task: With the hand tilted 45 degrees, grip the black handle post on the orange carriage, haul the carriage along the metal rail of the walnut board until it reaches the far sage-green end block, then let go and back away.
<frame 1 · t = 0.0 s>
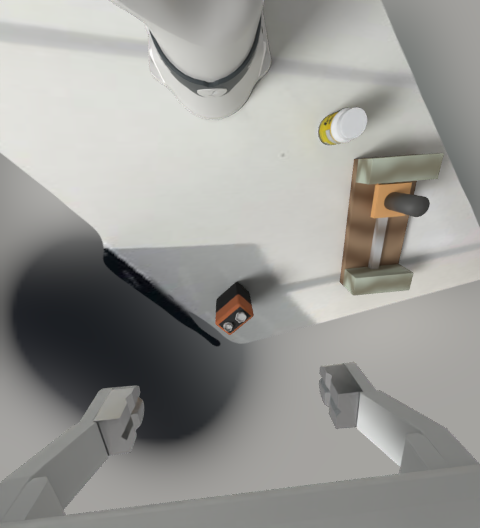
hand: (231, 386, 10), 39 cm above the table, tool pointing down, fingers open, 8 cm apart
supplement bottle: (329, 130, 42), on the table
rail board: (374, 224, 49), on the table
carriage: (400, 202, 41), point 6 cm above the table, slide at 0.0 cm
battery: (232, 295, 54), on the table
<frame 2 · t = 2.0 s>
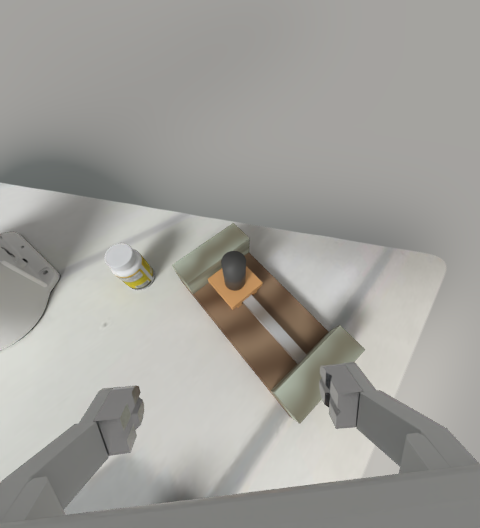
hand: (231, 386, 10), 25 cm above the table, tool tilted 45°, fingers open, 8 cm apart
supplement bottle: (141, 278, 41), on the table
rail board: (257, 314, 38), on the table
carriage: (234, 275, 34), point 6 cm above the table, slide at 0.0 cm
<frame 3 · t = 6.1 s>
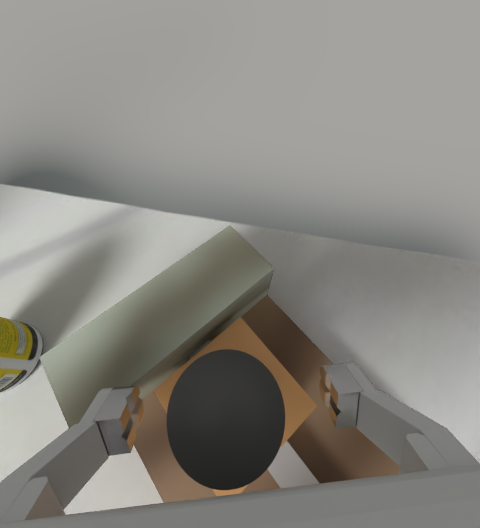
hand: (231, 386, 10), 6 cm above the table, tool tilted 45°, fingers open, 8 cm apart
supplement bottle: (13, 357, 17), on the table
rail board: (295, 475, 14), on the table
carriage: (232, 400, 10), point 6 cm above the table, slide at 0.0 cm
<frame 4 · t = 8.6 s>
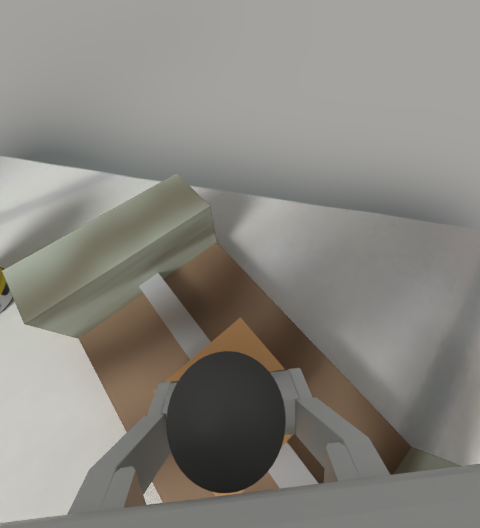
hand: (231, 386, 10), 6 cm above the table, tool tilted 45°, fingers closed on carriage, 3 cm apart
rail board: (229, 387, 16), on the table
carriage: (232, 402, 10), point 6 cm above the table, slide at 6.1 cm, touching gripper
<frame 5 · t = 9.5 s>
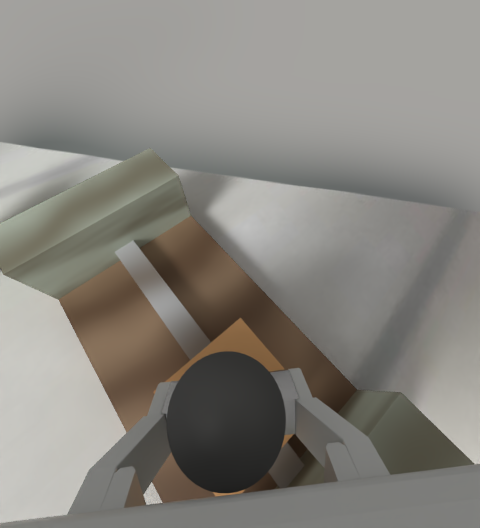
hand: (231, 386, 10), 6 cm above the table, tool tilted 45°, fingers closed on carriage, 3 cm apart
rail board: (198, 343, 17), on the table
carriage: (232, 402, 10), point 6 cm above the table, slide at 9.9 cm, touching gripper
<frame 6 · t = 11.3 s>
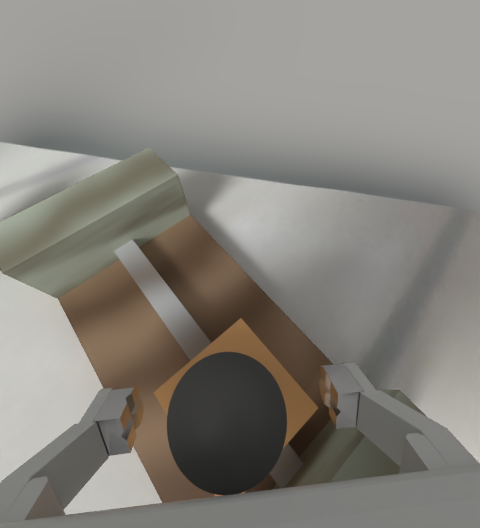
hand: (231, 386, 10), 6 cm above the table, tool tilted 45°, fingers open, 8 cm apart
rail board: (197, 342, 17), on the table
carriage: (233, 403, 10), point 6 cm above the table, slide at 10.0 cm
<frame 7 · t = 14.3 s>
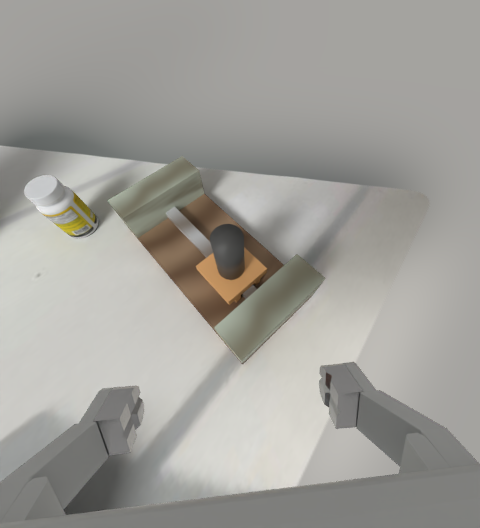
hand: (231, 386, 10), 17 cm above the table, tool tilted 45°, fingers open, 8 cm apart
supplement bottle: (84, 227, 36), on the table
rail board: (212, 258, 33), on the table
carriage: (230, 259, 26), point 6 cm above the table, slide at 10.0 cm
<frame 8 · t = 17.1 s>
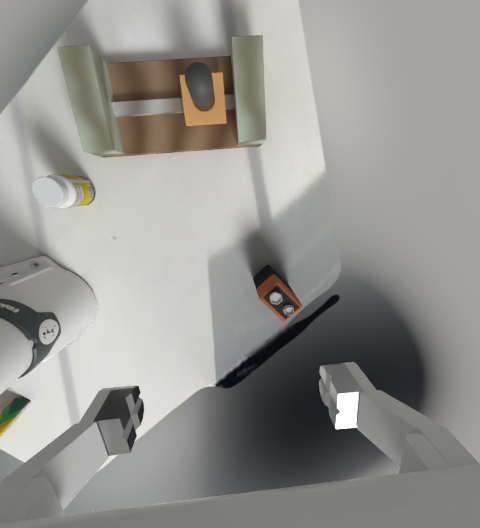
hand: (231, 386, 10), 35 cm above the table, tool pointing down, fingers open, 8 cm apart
supplement bottle: (83, 191, 40), on the table
crayon box: (18, 406, 53), on the table
rail board: (177, 110, 37), on the table
carriage: (202, 93, 31), point 6 cm above the table, slide at 10.0 cm
battery: (270, 281, 47), on the table
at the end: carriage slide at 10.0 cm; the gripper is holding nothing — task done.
